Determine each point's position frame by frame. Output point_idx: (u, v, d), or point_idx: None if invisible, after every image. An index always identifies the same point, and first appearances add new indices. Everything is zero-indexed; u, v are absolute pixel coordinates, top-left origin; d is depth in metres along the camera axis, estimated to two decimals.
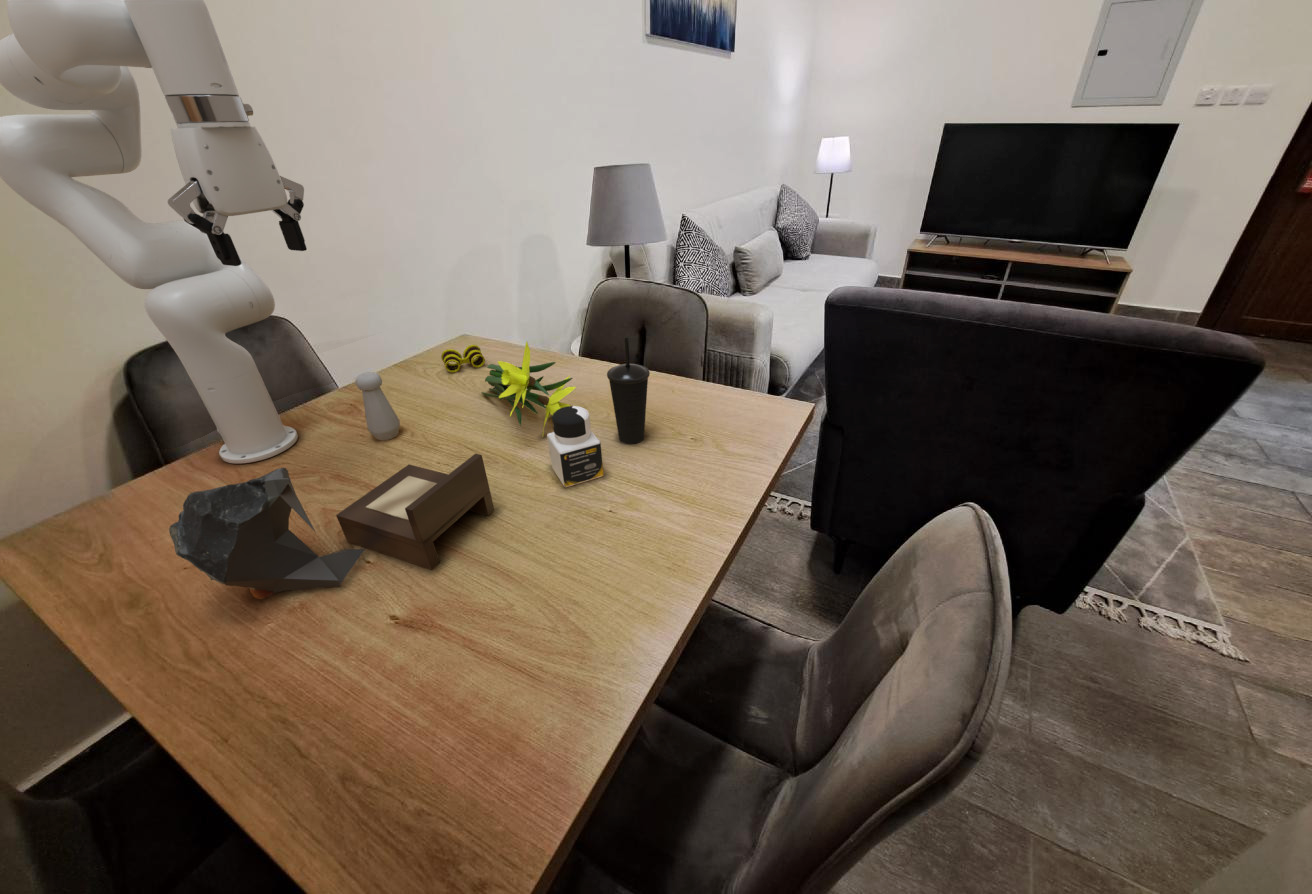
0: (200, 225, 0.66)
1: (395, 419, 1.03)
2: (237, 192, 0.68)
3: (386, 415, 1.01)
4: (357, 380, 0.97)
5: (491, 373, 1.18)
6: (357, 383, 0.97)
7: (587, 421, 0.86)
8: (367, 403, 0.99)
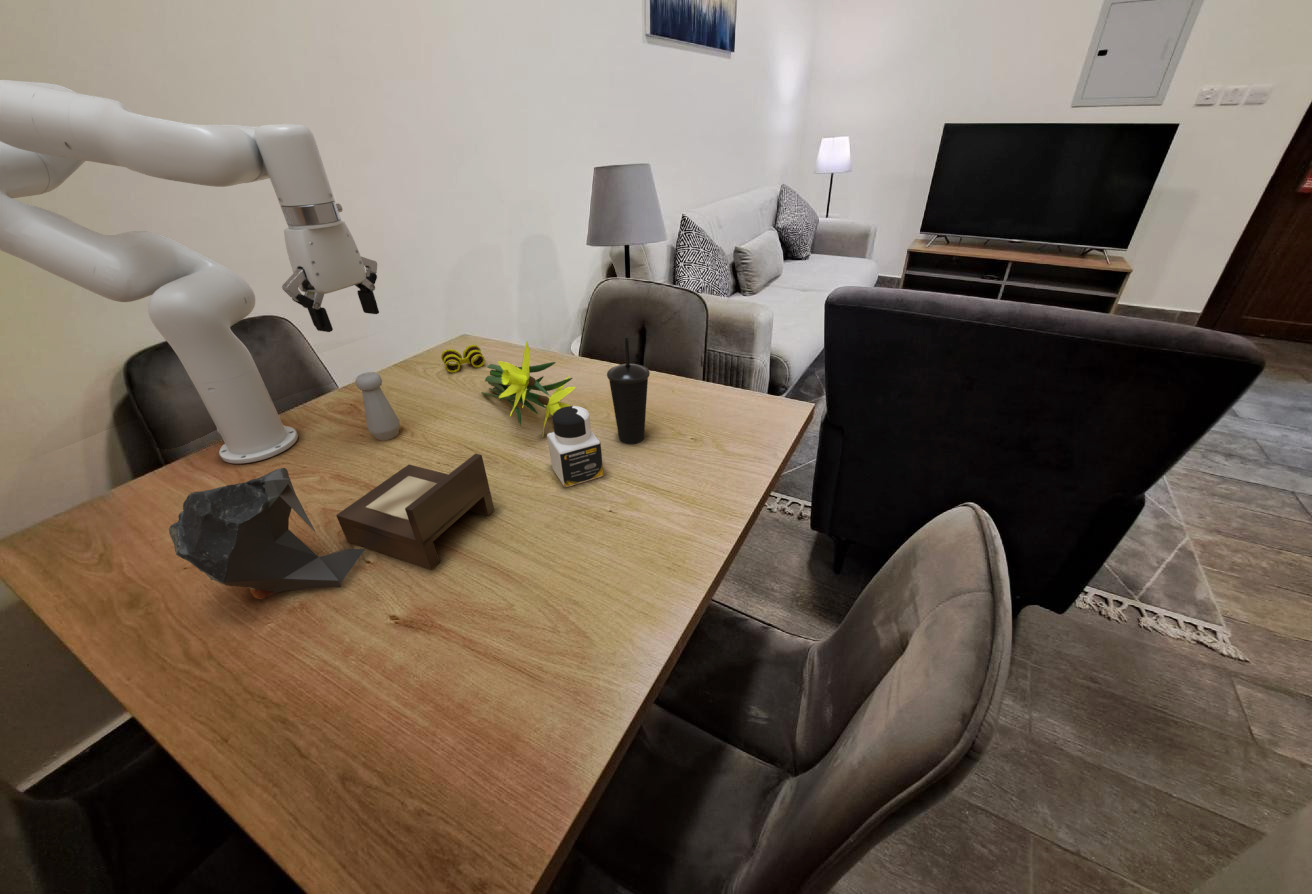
0: (304, 303, 0.84)
1: (395, 419, 1.03)
2: (331, 275, 0.85)
3: (386, 415, 1.01)
4: (357, 380, 0.97)
5: (491, 373, 1.18)
6: (357, 383, 0.97)
7: (587, 421, 0.86)
8: (367, 403, 0.99)
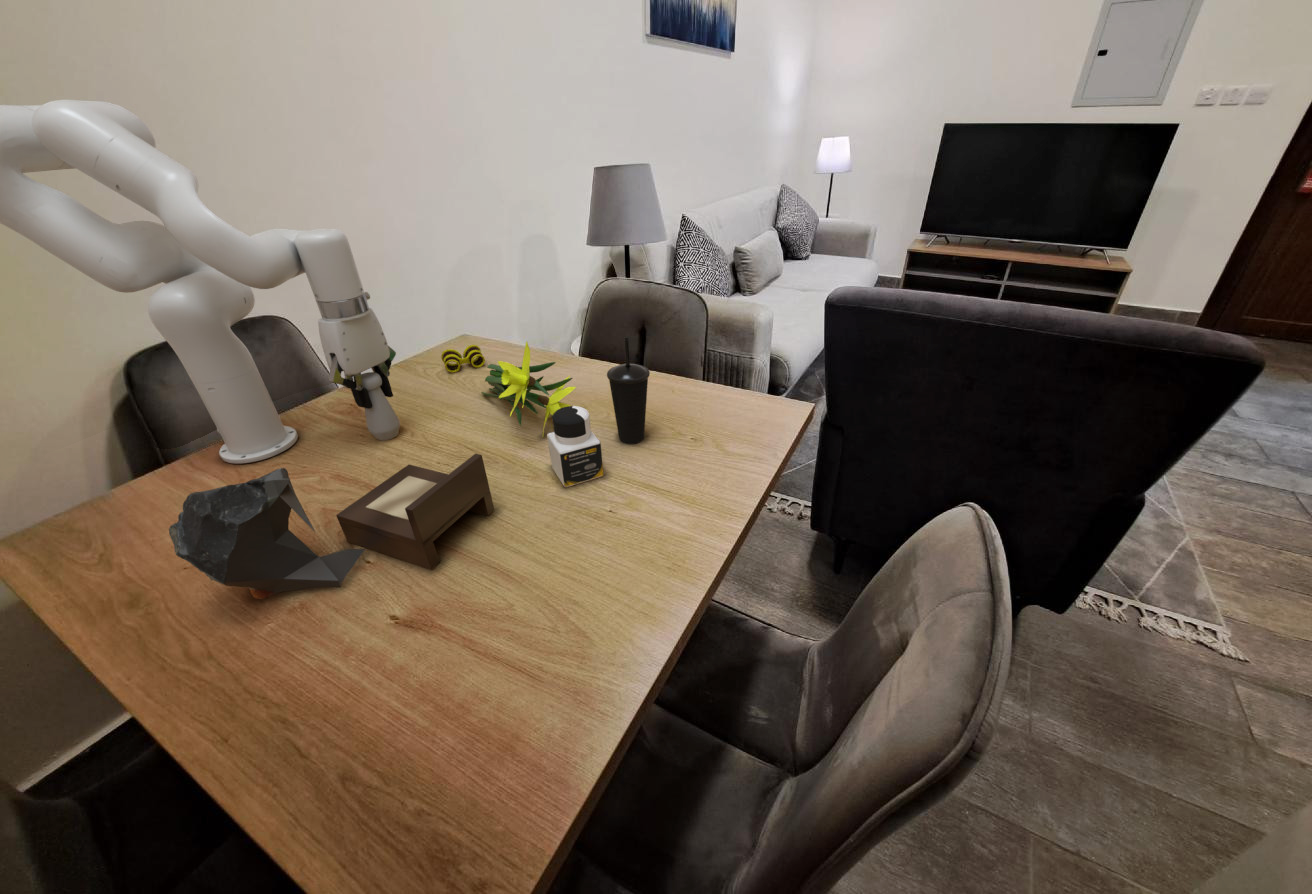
0: (349, 386, 0.94)
1: (395, 419, 1.03)
2: (360, 358, 0.93)
3: (386, 415, 1.01)
4: None
5: (491, 373, 1.18)
6: None
7: (587, 422, 0.86)
8: None
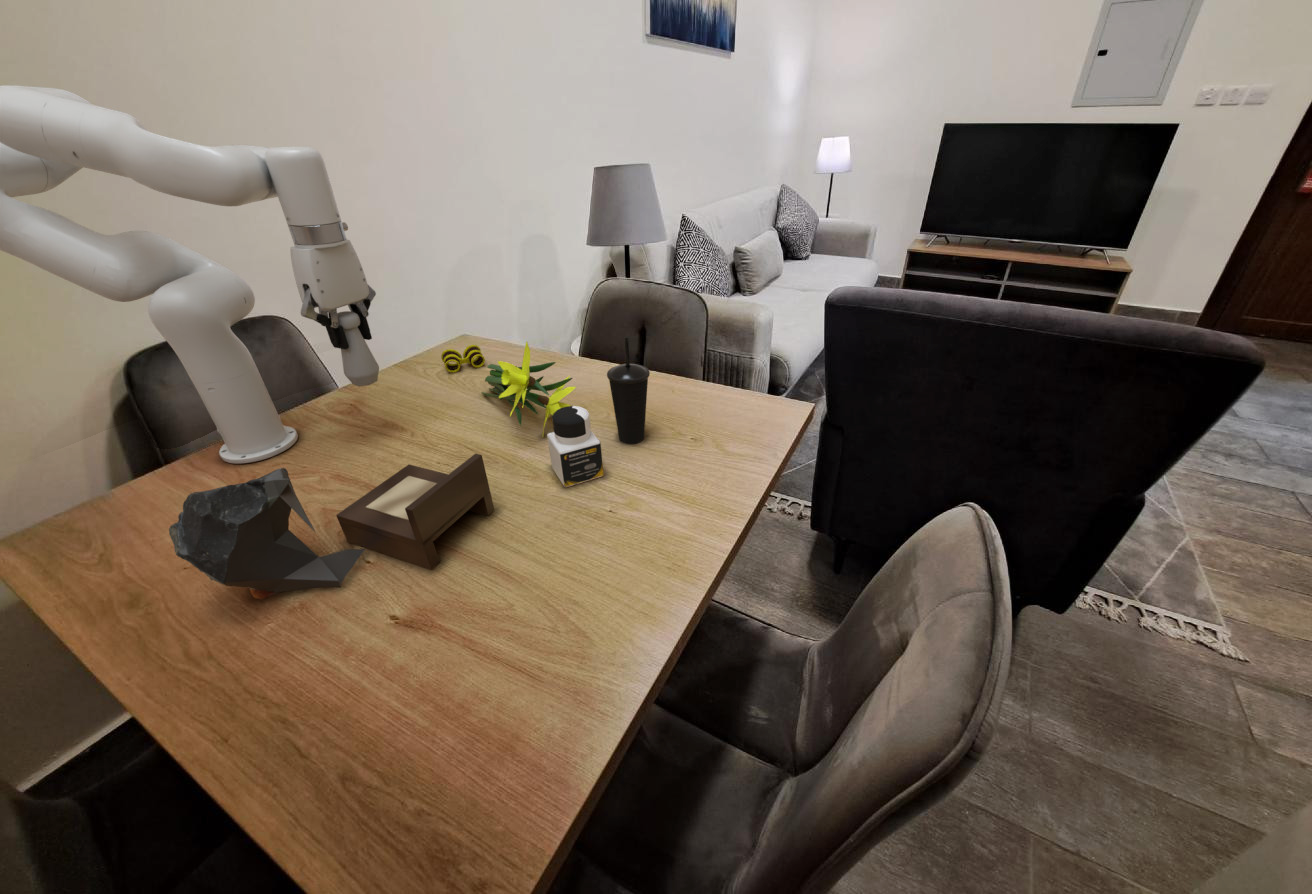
0: (324, 322, 0.88)
1: (374, 364, 0.97)
2: (335, 292, 0.87)
3: (364, 358, 0.95)
4: None
5: (491, 373, 1.18)
6: None
7: (587, 422, 0.86)
8: None
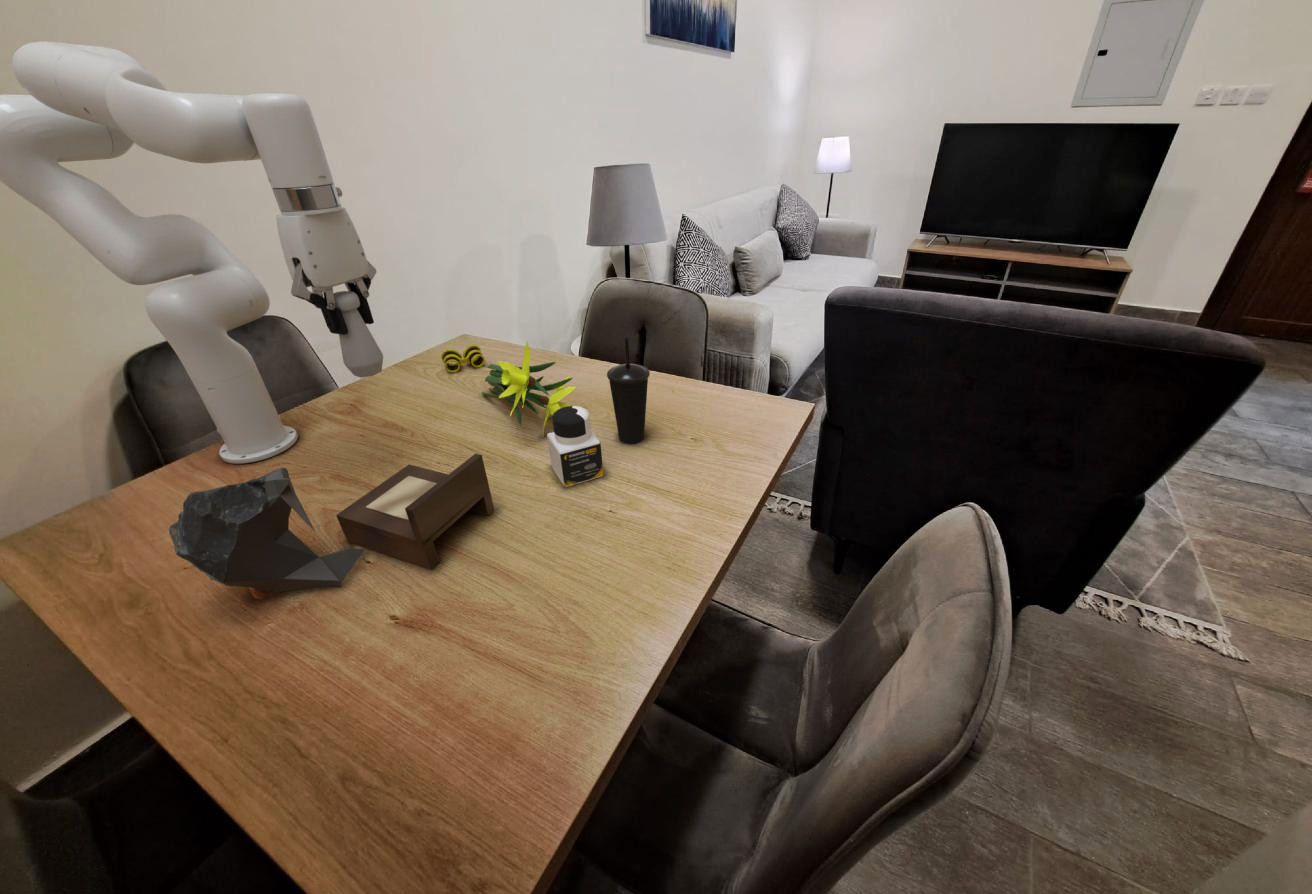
0: (318, 303, 0.76)
1: (377, 351, 0.85)
2: (331, 268, 0.75)
3: (365, 345, 0.83)
4: None
5: (491, 373, 1.18)
6: None
7: (587, 422, 0.86)
8: None
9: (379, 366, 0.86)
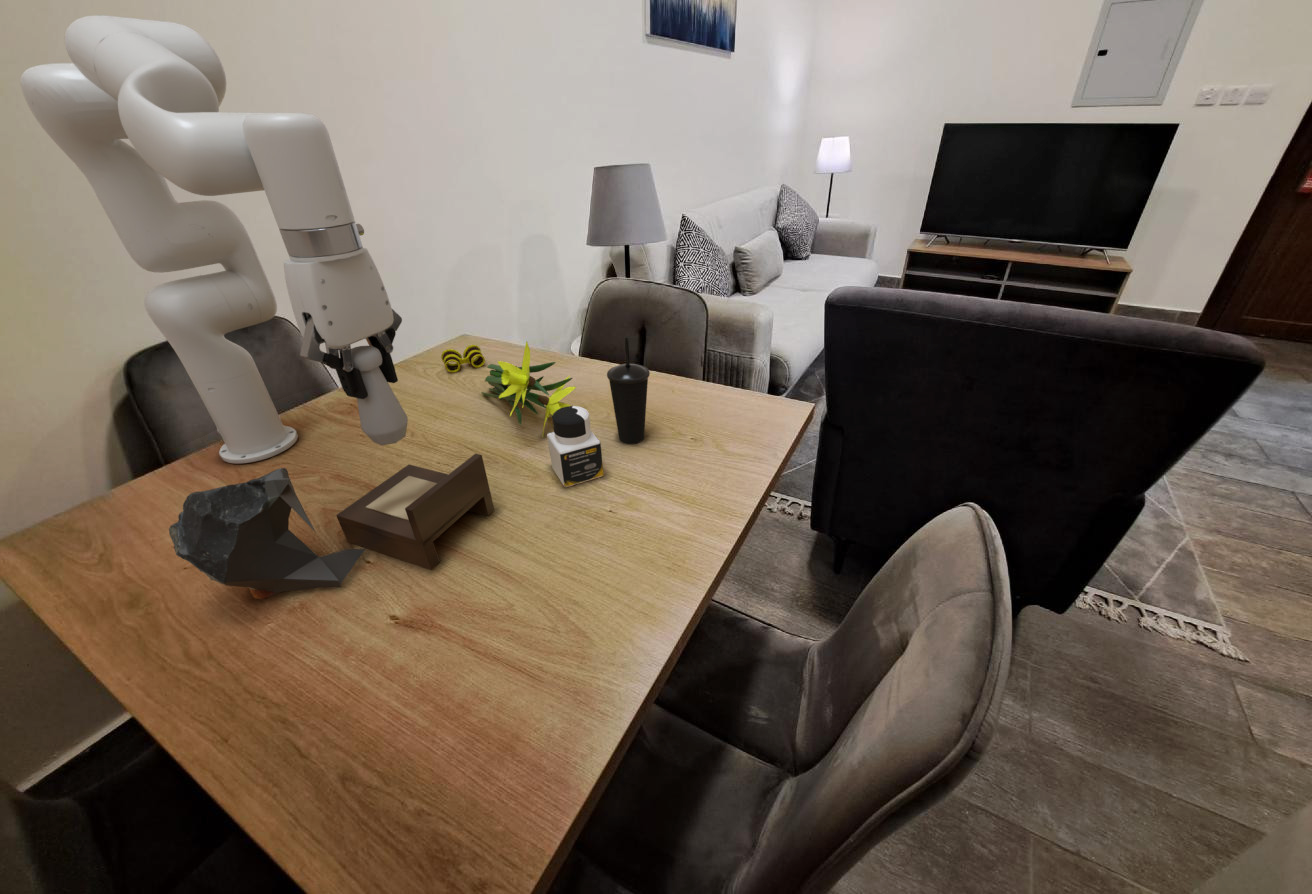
0: (333, 364, 0.63)
1: (401, 415, 0.71)
2: (349, 323, 0.62)
3: (388, 409, 0.69)
4: None
5: (491, 373, 1.18)
6: None
7: (587, 422, 0.86)
8: None
9: (403, 431, 0.72)
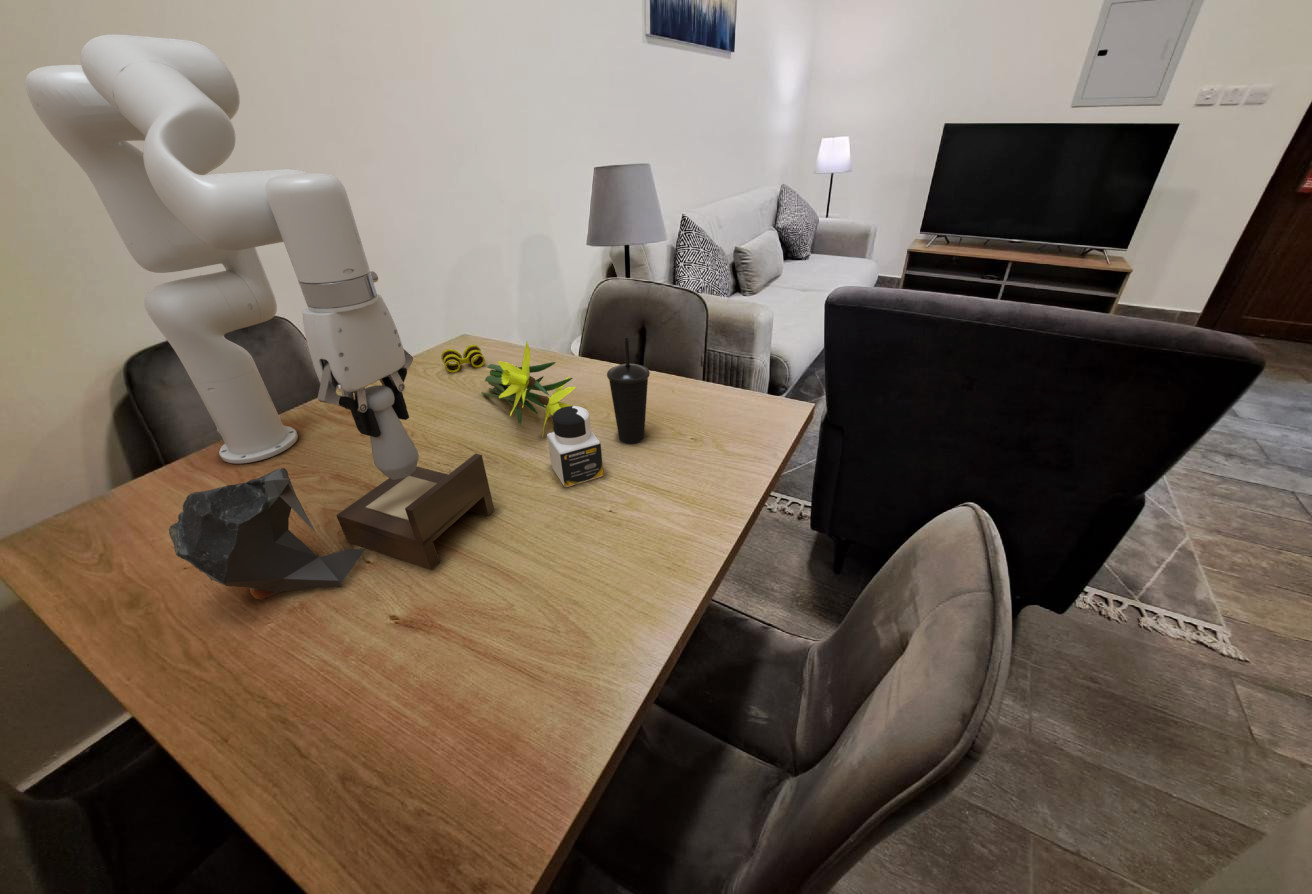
0: (348, 406, 0.65)
1: (412, 450, 0.74)
2: (364, 367, 0.65)
3: (400, 446, 0.72)
4: None
5: (491, 373, 1.18)
6: None
7: (587, 422, 0.86)
8: None
9: (414, 466, 0.75)
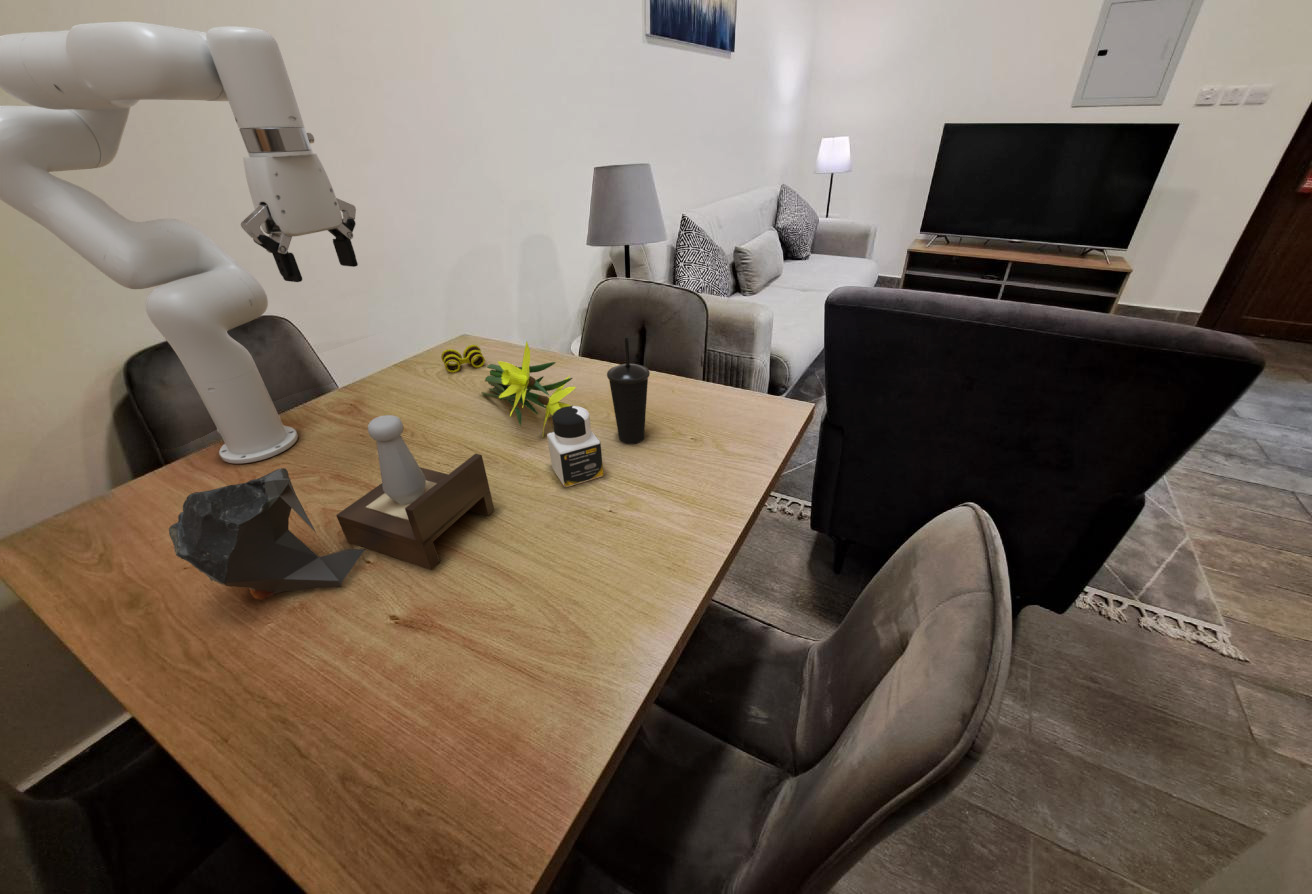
0: (268, 245, 0.72)
1: (420, 476, 0.76)
2: (300, 214, 0.74)
3: (408, 473, 0.74)
4: (370, 427, 0.71)
5: (491, 373, 1.18)
6: (370, 431, 0.71)
7: (587, 422, 0.86)
8: (383, 458, 0.73)
9: (421, 491, 0.77)
